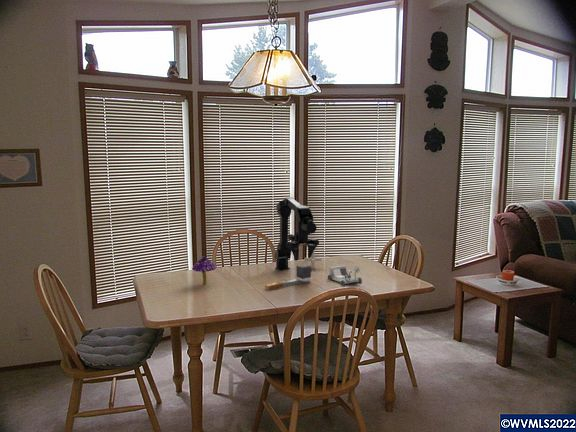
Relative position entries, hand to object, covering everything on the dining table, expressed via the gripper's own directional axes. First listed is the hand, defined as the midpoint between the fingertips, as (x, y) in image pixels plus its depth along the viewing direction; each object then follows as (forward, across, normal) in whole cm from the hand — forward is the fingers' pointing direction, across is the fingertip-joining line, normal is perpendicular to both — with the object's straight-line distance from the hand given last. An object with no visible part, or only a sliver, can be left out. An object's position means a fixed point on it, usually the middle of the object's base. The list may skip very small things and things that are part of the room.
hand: (302, 259), depth 243 cm
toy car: (+12, -16, +16) cm, 26 cm away
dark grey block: (+9, +1, +2) cm, 9 cm away
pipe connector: (+12, -23, -18) cm, 31 cm away
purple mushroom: (+12, +45, -26) cm, 53 cm away
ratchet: (+12, +11, +2) cm, 16 cm away
